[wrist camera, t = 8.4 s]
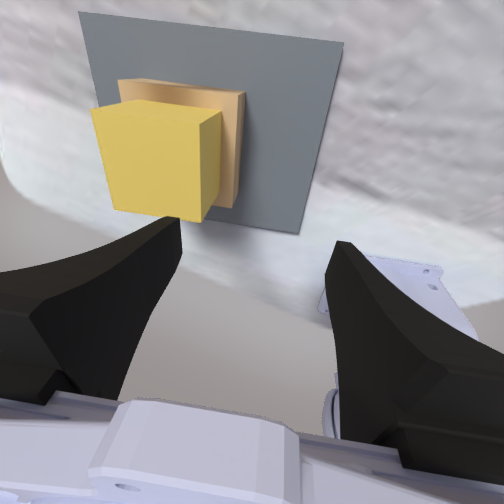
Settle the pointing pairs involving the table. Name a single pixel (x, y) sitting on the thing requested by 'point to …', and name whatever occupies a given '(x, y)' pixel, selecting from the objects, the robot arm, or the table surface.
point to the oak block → (208, 99)
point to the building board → (234, 78)
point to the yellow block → (160, 157)
